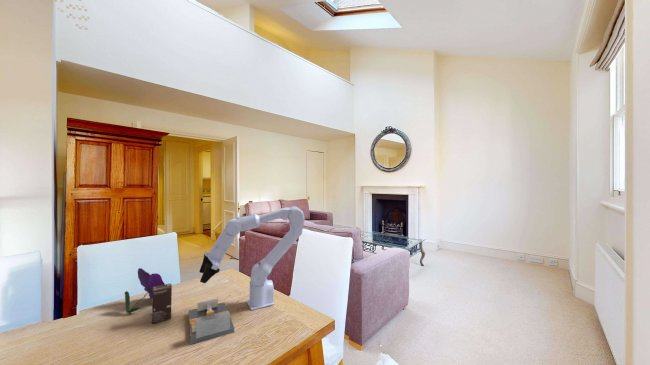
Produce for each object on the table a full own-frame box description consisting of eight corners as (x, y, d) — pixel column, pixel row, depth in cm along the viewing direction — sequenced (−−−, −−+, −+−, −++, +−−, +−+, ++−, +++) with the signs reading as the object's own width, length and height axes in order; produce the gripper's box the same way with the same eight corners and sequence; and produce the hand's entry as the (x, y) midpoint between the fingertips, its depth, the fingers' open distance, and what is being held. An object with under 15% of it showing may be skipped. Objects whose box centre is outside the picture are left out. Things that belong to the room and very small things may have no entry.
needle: (189, 322, 87) (189, 315, 87) (213, 316, 91) (213, 310, 91) (190, 324, 87) (190, 317, 87) (214, 318, 90) (214, 311, 90)
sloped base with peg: (188, 314, 96) (188, 297, 96) (224, 305, 103) (224, 290, 103) (190, 344, 79) (191, 324, 79) (234, 332, 86) (234, 313, 86)
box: (152, 324, 89) (152, 290, 89) (152, 318, 93) (152, 286, 93) (171, 319, 93) (171, 287, 92) (171, 313, 96) (171, 282, 96)
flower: (150, 327, 96) (177, 296, 107) (130, 301, 89) (162, 272, 100) (123, 320, 101) (151, 291, 112) (102, 295, 94) (135, 267, 105)
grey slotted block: (197, 309, 96) (197, 301, 96) (217, 304, 100) (217, 297, 100) (199, 320, 89) (199, 311, 89) (220, 314, 93) (220, 306, 93)
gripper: (210, 236, 105) (191, 265, 104) (213, 250, 93) (192, 283, 91) (225, 242, 109) (208, 270, 107) (230, 257, 96) (211, 289, 95)
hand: (202, 277), depth 99 cm, fingers open, 7 cm apart
